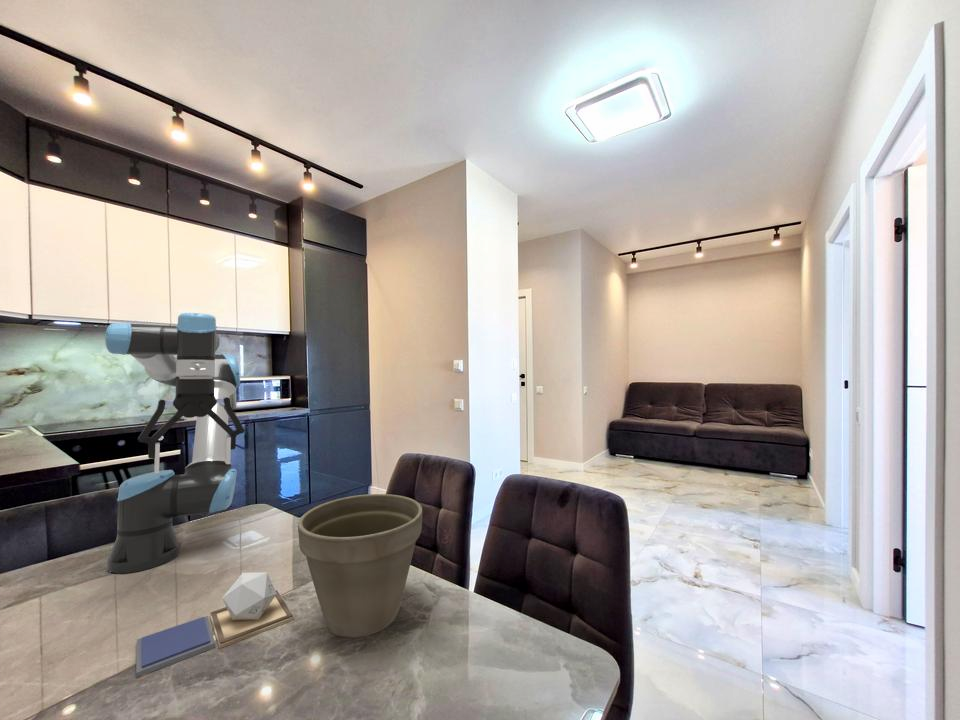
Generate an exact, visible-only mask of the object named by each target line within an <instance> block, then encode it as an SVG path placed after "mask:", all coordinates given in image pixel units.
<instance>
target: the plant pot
mask: <svg viewBox="0 0 960 720" xmlns="http://www.w3.org/2000/svg"><path fill="white" fill-rule="evenodd" d="M422 525H423V508H422V505H421V504H420V502H418V501H417V500H415V499H413V498H410V497H407V496H404V495H398V494H390V493H389V494H388V493H371V494H370V493H368V494H358V495H357V494H356V495H352V496H351V495H350V496H346V497H342V498H337V499H334V500H330V501H327V502H324V503H321V504H318V505H317V506H314V507H313V508H312V509H309V510H308V511H306V512H305V513H304V514H303V515H302V516H301V517H300V518H299V519H298V522H297V533H298V547H299V549H300V552H301V553H302V554H303V555H304V556H305V557H306V561H307V562H306V563H307V565H308V570H309V573H310V576H311V579H312V583H313V587H314V589H315V593H316V596H317V597H316V598H317V600H318V603H319V606H320V610H321V613H322V616H323V619H324V623H325V625H326V627H327V629H328V631H329V632H330V633H332V634H334V635H335V636H338V637H341V638H349V639H350V638H351V639H352V638H353V639H355V638H356V639H357V638H363V637H368V636H371V635H374V634H377V633H379V632H382V631H383V630H385V629H386V628H388V627H389V626H390V625H391V624H392V623H393V622H394V621H395V619H396V618H397V617H398V615H399V612H400V608H401V605H402V599H403V596H404V592H405V588H406V585H407V579H408V576H409V572H410V568H411V563H412V559H413V554H414V550H415V546H416V542H417V541H418V539H419V538H420V536H421V534H422V527H423V526H422Z"/></svg>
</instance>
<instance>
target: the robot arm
mask: <svg viewBox="0 0 960 720" xmlns="http://www.w3.org/2000/svg"><path fill="white" fill-rule="evenodd" d="M104 339H105V347H106V350H107V351H108V352H109V353H110V354H113V355H115V354H116V355H122V356H125V355H131V356H132V357H133V358H134V360H136V361H137V362H139V364H141V365H142V366H143V368H144V371H145V373H146V374H147V375H148V377H150V378H151V379H152V380H154V381H156V382H158V383H161V384H163V385H165V386H166V385H167V386H169V387H175V397H174V399H173V400H171V399H170V400H168V399H167V400H166V399H163V398H161V399H159V400H158V402H157V407H156V410H155V411H154V413H153V414H152V416H150V419H149V420H148V421H147V424H146V425H145V426H144V428H143V430H142V432H140V434H139V436H138V437H137V440H138V442H140V443H144V444H147V448H148V450H147V452H148V454H147V456H148V458H149V459H154V471H152V472H147V473H143V474H139V475H136V476H132V477H129V478H128V479H126V480H124V481H122V482H121V484H120V486H119V487H118V495H117V498H116V501H117V516H116V517H117V518H116V519H117V522H116V523H117V524H116V526H117V528H116V529H117V530H116V539H115V541H114V544H113V546H112V548H111V551H110V553H109V555H108V558H107V561H106V571H107V570H108V572H109V571H111V572H115V573H114V574H128V573H130V574H131V573H135V572H141V571H144V570H149V569H153V568H155V567H158V566H160V565H164V564H166V563H168V562H171V560H174V559H175V558H176V557H178V556H179V554H180V541H179V539H178V536H177V534H176V531H175V530H174V527H173V524H174V523H173V518H174V519H175V518H181V517H182V518H183V517H187V516H195V515H201V514H208V513H209V514H212V513H214V512H215V513H216V512H219V511H223V510H224V511H225V510H227V509H228V508H229V507H230V506H231V504H232V502H233V498H234V494H235V490H236V489H235V488H236V482H237V481H236V480H237V475H238V474H237V473H238V472H237V469H236V468H232V467H233V466H232V462H231V457H232V456H231V450H235V449H236V448H237V447H236V446H237V444H236V442H237V438H236V437H237V436H239V435H241V434H244V432H245V429H244V427H243V425H242V424H241V421H240V420H239V418H238V417H237V415H236V412H235V411H234V410H233V408H232V406H231V399H230V396H231V395H234V393H235V391H236V389H237V388H239V387H241V378H240V377H241V376H240V369H239V368H240V366H239V360H238V357H237V356H235V355H234V354H224V353H221V354H218V353H217V354H216V352H217V351H218V349H219V347H220V337H219V335H218V334H217V320H216V317H215V316H214V315H211V314H207V313H201V312H199V313H198V312H184V313H180V314H179V315H178V318H177V325H167V324H150V323H149V324H147V323H146V324H145V323H131V322H122V323H121V322H119V323H116V322H115V323H111V324H109V325H108V326H107V328H106V331H105V337H104ZM171 406H173V407H174V408H175V409H176V410H177V411H176V412H175V413H174V414H173V415H172V417H170V418H169V419H168V420H167V421H166V422H165V423H164V424H163V425H162V426H161V427H160V428H159V429H158V430H157V431H155V432H154V434H153V435H152V436H151V437H150V436H149V435H150V434H151V432H152V430H153V429H154V427H155V426H156V424H157V423H158V421H159V420H160V418H161V416H162V415H163V413H164V410H168V409H169V408H170V407H171ZM183 417H184V418H188V419H192V418H196V420H195V430H194V439H193V440H194V442H193V448H192V449H193V451H192V461H191V462H190V463H189V464H187V466H185V468H184V474H175V472H174V470H173V469H166V470H165V469H162V470H160V457H161V456H160V452H161V451H160V449H161V448H160V447H161V446H160V445H161V443H160V442H158V441H159V440H160V439H161V438H162V437H163V436H164V435H165V434H166V433H167V432H168V431H169V430H170V429H171V428H172V427H173V426H174V425H175V424H176V423H178V421H179V420H180V419H182V418H183ZM229 420H230V421H231V423H232V424H233V426H234V428H235V429H233V428H232V427H231V426H230V425H229ZM111 572H110V573H111Z"/></svg>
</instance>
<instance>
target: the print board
mask: <svg viewBox="0 0 960 720" xmlns="http://www.w3.org/2000/svg"><path fill="white" fill-rule="evenodd" d="M275 591H276V593H277V594H276V596H275V597H274V598H273V600H272V601H271V603H270V604H269V606H268V607H267V609H266V610H265V611H264V613H263V614H262V616H261V617H260V619H259V620H232V618H231V616H230V614H229V612H228V609H227V607H226V606H225V607H222V608H219V609H217V610H213V611H211V612H210V613H209V619H210V621H211V622H210V624H211V625H212V626H211V627H212V630H213V634H214V635H215V639H216V640H215V641H216V643H217V647H218V649H219V650H220V649H223V648H225V647H228V646H230V645H233V644H236V643H238V642H241V641H243V640H246V639H248V638H251V637H253V636H256V635H259V634H261V633H264V632H266V631H269V630H271V629H274V628H277V627H279V626H281V625H284V624H287V623H289V622H292V621H294V620H295V616H294V614H293V612H292V611H291V610H290V608H289V607H288V605H287V603H286V602H285V600H284V598H283V597H282V595H281V594H280V592H279V591H278V590H276V589H275Z"/></svg>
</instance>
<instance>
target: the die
mask: <svg viewBox="0 0 960 720" xmlns="http://www.w3.org/2000/svg"><path fill="white" fill-rule="evenodd" d="M227 590H228V591H227V592H225V594H224V595H223V596H222V601H223V603H224V605H225V607H227V609H228V612H229V614H230V616H231V618H232V620H259V619H260V617H261V616H262V614H263V613H264V611H265V610H266V609H267V607H268V606H269V604H270V603H271V601H272V600H273V598H274V597H275V596H276V594H277V593H276V588H275V587H274V585H273V582H272V580H271V578H270V576H269V573H268V572H241V574H240V575H239V577H237V579H236V580H235V581H234V583H232V585H231V587H230V588H229V589H227Z"/></svg>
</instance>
